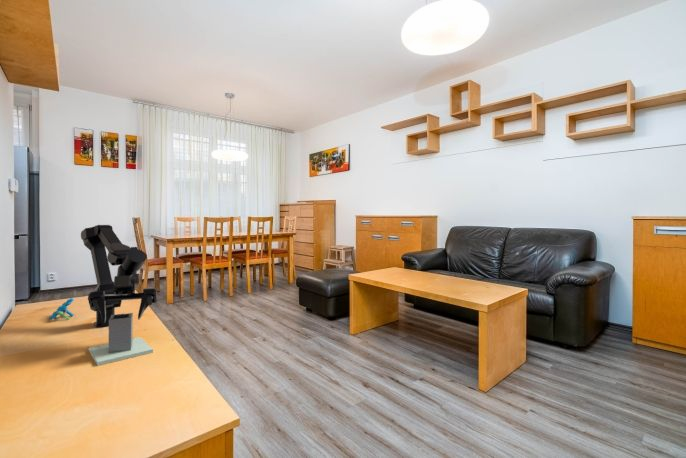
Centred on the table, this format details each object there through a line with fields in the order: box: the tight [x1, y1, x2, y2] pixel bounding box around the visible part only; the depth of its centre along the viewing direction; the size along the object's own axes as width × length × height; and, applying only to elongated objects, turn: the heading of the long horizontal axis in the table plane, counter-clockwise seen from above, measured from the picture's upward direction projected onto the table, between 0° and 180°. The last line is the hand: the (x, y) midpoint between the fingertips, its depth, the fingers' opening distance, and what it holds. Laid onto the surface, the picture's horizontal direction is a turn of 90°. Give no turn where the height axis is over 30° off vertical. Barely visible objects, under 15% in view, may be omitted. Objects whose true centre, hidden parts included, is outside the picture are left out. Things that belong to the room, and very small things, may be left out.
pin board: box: [88, 336, 154, 367], centre depth 102 cm, size 14×14×5 cm
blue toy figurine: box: [49, 297, 75, 320], centre depth 133 cm, size 11×6×10 cm
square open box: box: [108, 312, 134, 353], centre depth 102 cm, size 6×6×10 cm
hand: (121, 320), depth 105 cm, fingers open, 9 cm apart
